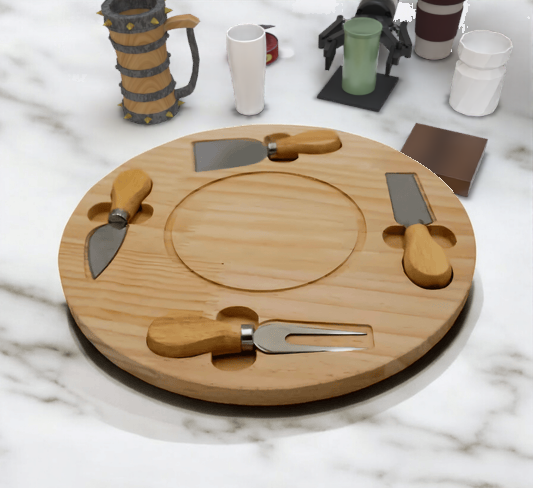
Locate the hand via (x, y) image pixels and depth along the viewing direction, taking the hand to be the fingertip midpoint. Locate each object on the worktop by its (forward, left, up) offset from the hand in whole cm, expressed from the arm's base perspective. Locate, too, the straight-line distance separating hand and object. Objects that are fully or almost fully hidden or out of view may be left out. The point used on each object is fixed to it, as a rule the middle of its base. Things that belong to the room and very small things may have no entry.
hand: (356, 67), depth 116 cm
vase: (-20, -8, -7) cm, 23 cm away
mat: (+1, -4, -7) cm, 8 cm away
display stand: (-19, +13, -7) cm, 24 cm away
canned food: (+25, -8, -7) cm, 27 cm away
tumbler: (+1, -4, -6) cm, 8 cm away
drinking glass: (+17, +10, -7) cm, 21 cm away
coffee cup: (-8, -23, -7) cm, 26 cm away
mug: (+32, +16, -7) cm, 36 cm away
